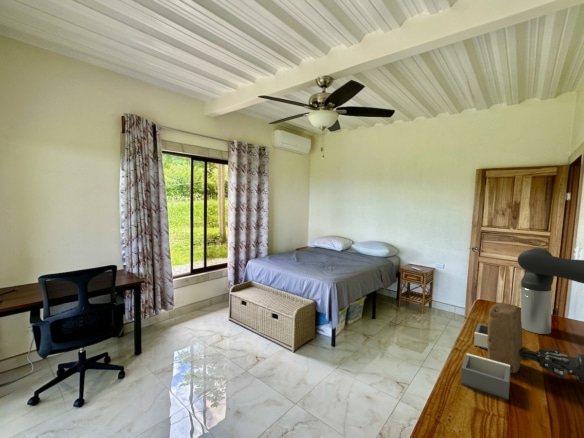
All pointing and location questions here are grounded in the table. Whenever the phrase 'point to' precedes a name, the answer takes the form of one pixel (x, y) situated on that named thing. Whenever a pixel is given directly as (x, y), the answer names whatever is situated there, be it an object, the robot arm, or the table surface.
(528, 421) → the table surface
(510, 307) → the block
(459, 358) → the table surface
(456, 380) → the table surface
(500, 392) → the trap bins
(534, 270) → the robot arm
